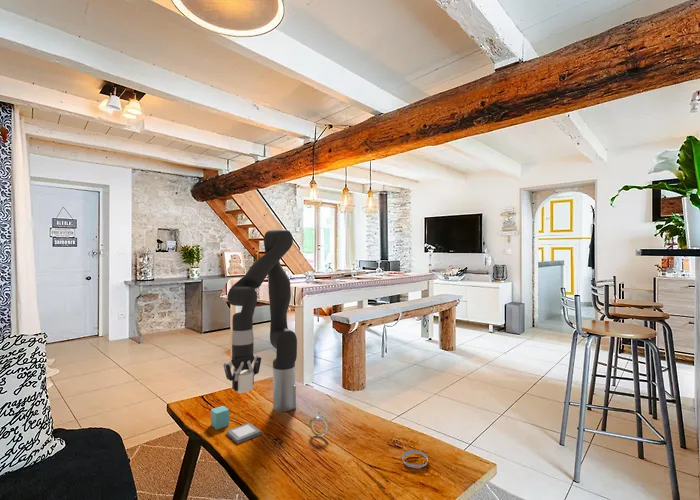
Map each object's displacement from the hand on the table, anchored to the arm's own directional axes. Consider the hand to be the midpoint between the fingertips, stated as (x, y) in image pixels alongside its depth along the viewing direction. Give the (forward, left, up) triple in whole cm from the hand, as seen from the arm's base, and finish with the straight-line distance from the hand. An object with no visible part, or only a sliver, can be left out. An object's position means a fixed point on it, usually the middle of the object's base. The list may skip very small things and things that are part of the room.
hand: (243, 388), depth 130 cm
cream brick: (0, 0, 0) cm, 0 cm away
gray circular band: (-52, +33, -17) cm, 64 cm away
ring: (-26, +9, -17) cm, 32 cm away
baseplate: (0, 0, -17) cm, 17 cm away
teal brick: (+9, -10, -17) cm, 21 cm away
